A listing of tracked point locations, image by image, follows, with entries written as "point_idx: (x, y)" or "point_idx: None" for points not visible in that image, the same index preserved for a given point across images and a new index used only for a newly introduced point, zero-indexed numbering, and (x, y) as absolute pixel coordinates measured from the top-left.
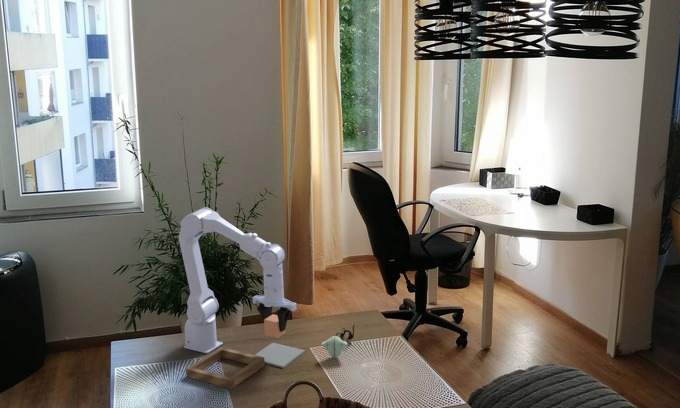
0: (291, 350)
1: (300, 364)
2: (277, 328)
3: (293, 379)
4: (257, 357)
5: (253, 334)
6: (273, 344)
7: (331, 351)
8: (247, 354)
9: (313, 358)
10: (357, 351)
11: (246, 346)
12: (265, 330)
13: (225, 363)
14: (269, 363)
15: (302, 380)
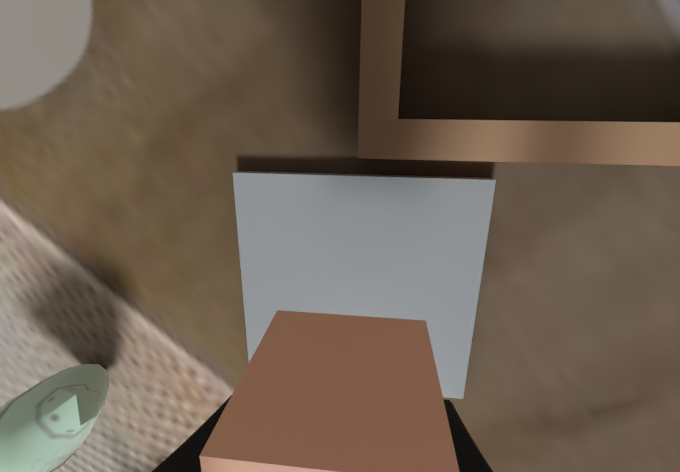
0: None
1: (188, 250)
2: (242, 385)
3: (101, 73)
4: (405, 136)
5: (633, 454)
6: (445, 381)
7: (57, 376)
8: (508, 144)
9: (176, 330)
10: None
11: (606, 322)
12: (420, 353)
13: (647, 48)
14: (336, 174)
15: (54, 88)
